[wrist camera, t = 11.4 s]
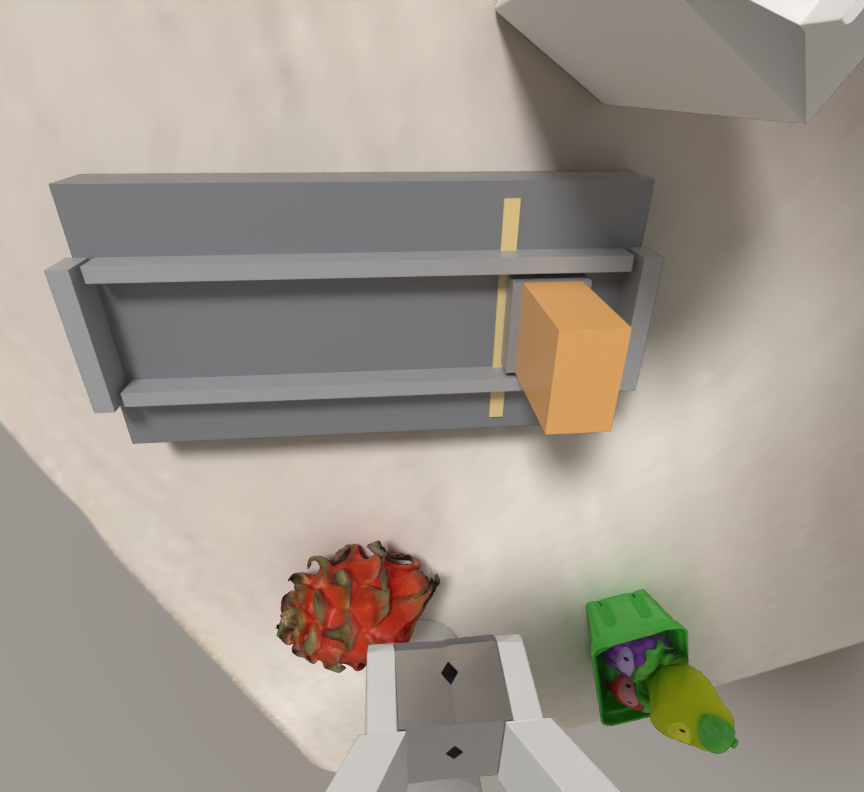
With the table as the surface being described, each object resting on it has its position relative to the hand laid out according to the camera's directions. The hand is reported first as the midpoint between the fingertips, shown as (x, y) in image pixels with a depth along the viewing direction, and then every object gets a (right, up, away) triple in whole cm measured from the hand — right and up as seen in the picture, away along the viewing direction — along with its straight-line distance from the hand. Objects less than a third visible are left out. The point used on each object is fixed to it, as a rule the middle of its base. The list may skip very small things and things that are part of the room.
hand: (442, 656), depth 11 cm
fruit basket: (+17, -15, +38) cm, 45 cm away
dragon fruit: (-6, -8, +31) cm, 33 cm away
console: (-4, +11, +21) cm, 23 cm away
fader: (+6, +9, +19) cm, 22 cm away
